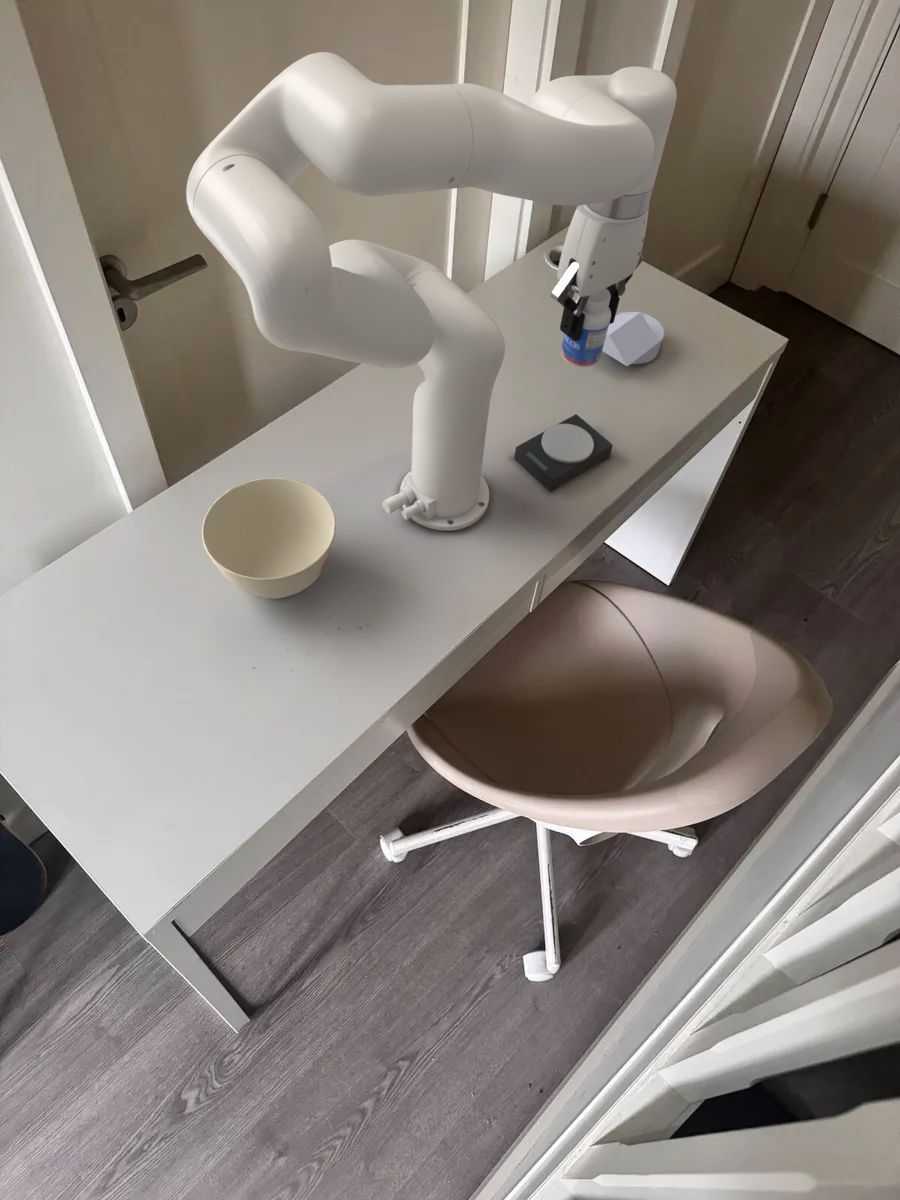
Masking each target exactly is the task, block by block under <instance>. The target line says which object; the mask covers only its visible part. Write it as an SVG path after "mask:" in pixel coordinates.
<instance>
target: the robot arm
mask: <svg viewBox="0 0 900 1200" xmlns="http://www.w3.org/2000/svg"><path fill="white" fill-rule="evenodd" d="M677 96H678V93H677V87H676V84H675V82H674V81H673V79H672V78H671V77H670V76H668V75H667V74H665V73H664V72H663V71H660V70H657V69H655V68H652V67H646V66H628V67H622V68H620V69H618V70H617V71H615V72H614V73H612V74H602V75H600V74H598V75H597V74H596V75H595V74H594V75H566V76H561V77H558V78H554V79H553V80H550V81H548V82H547V83H545V84H543V85H542V86H541V87H540V88H539V89H538V90H537V91H536V92H535V93H534V95H533V96H532V98H531V99H530V101H529V103H528V105H526V104H525V103H522V102H521V101H519V100H516V99H515V98H513V97H511V96H509V95H507V94H505V93H502V92H499V91H497V90H494V89H493V88H489V87H486V86H483V85H480V84H476V83H471V82H470V83H466V82H464V83H463V82H462V83H441V84H380V83H377V82H374V81H372V80H371V79H369V78H368V77H367V76H366V75H365V74H363V73H362V72H361V71H360V70H359V69H357V68H356V67H355V66H353V65H352V64H351V63H349V61H347V60H345V59H344V58H343V57H341V56H339V55H338V54H335V53H333V52H329V51H319V52H315V53H310V54H307V55H305V56H303V57H302V58H299V59H298V60H295V62H293V63H292V64H290V65H289V66H288V67H286V68H285V69H283V70H282V71H281V72H280V73H279V74H278V75H277V76H275V77H274V78H273V79H272V80H271V81H270V82H269V83H268V84H267V85H265V86H264V88H263V89H261V90H260V91H259V92H258V93H257V94H256V95H255V96H254V97H253V98H252V99H251V100H250V102H249V103H247V104H246V106H245V107H243V108H242V110H241V111H240V112H239V113H238V114H237V115H236V116H235V117H234V118H233V119H232V120H231V121H230V122H229V123H228V124H227V125H226V126H225V127H224V128H223V129H222V130H221V131H220V132H219V133H218V134H217V135H216V137H215V138H213V140H211V142H210V143H208V145H207V146H206V147H205V149H203V151H202V152H201V153H200V154H199V156H198V157H197V159H196V160H195V162H194V164H193V165H192V168H191V170H190V171H189V174H188V178H187V182H186V188H185V194H186V195H185V197H186V205H187V208H188V211H189V213H190V216H191V217H192V219H193V221H194V223H195V225H196V226H197V228H198V229H199V230H200V231H201V232H202V234H203V236H205V237H206V239H207V240H208V241H209V242H210V243H211V244H212V245H213V246H214V247H215V249H216V250H217V251H218V252H219V253H220V255H222V257H223V258H224V260H225V261H227V263H228V265H229V266H230V267H231V269H233V271H234V272H235V273H236V274H237V275H238V277H239V278H240V279H241V281H242V283H243V284H244V286H245V287H244V288H245V289H246V291H247V294H248V296H249V300H250V304H251V308H252V313H253V317H254V322H255V324H256V326H257V329H258V330H259V332H260V334H261V335H262V336H263V338H264V339H265V340H267V341H268V342H269V343H271V344H272V345H273V346H275V347H277V348H280V349H283V350H287V351H290V352H291V351H292V352H301V353H308V354H315V355H319V356H320V355H321V356H325V357H329V358H331V359H337V360H342V361H347V362H352V363H357V364H361V365H362V364H363V365H367V366H372V367H377V368H382V369H388V370H389V369H405V368H408V367H412V366H414V365H416V364H417V365H418V366H419V368H420V369H421V371H422V373H423V376H424V380H423V381H422V382H421V383H420V384H419V385H418V387H417V388H416V390H415V392H414V397H413V402H412V435H411V436H412V439H411V441H412V443H411V470H409V471H408V472H407V473H406V474H405V476H404V478H403V479H402V481H401V484H400V486H399V487H400V489H399V492H398V493H397V494H395V495H394V494H393V495H391V496H390V497H387V498H386V499H384V500H382V502H381V504H382V508H383V510H384V511H385V513H387V515H388V514H391V513H393V512H395V511H397V510H399V509H401V507H402V509H401V511H400V513H401V516H402V518H403V519H404V520H405V521H407V520H409V519H411V520H412V521H414V522H415V523H417V524H419V525H421V526H423V527H425V528H427V529H431V530H436V531H443V532H446V531H457V530H462V529H465V528H468V527H470V526H472V525H473V524H476V523H477V522H478V521H479V520H480V519H481V518H482V517H483V516H484V515H485V513H486V511H487V509H488V507H489V502H490V489H489V485H488V482H487V481H486V479H485V478H484V476H483V475H482V469H483V460H484V453H485V447H486V446H485V444H486V436H487V429H488V420H489V413H490V412H489V411H490V404H491V400H492V399H491V398H492V395H493V394H492V393H493V390H494V385H495V383H496V380H497V377H498V375H499V372H500V370H501V368H502V365H503V361H504V358H505V354H506V342H505V339H504V336H503V334H502V330H501V329H500V328H499V326H498V324H497V323H496V322H495V320H494V319H493V318H492V316H491V315H489V313H488V312H487V311H486V310H485V309H484V308H483V307H482V306H481V305H480V304H479V303H477V302H476V300H474V299H473V298H472V297H471V296H470V295H469V294H468V293H466V292H465V291H464V290H462V289H461V287H459V286H458V284H456V283H455V282H454V281H453V280H452V279H451V278H450V277H449V276H447V274H445V273H444V272H443V271H442V270H440V268H438V267H437V266H435V265H434V264H433V263H430V262H429V261H426V260H423V259H421V258H419V257H416V256H413V255H410V254H406V253H404V252H401V251H398V250H396V249H393V248H392V249H391V248H389V247H386V246H384V245H381V244H378V243H375V242H371V241H367V240H363V239H356V238H355V239H344V240H341V241H337V242H335V243H333V244H330V245H329V243H328V239H327V236H326V233H325V231H324V229H323V227H322V225H321V223H320V221H319V219H318V218H317V216H316V215H315V213H314V212H313V211H312V210H311V208H310V207H309V206H308V205H307V204H306V203H305V202H304V201H303V200H302V199H301V198H300V197H299V196H298V195H297V194H296V193H295V191H293V189H292V188H291V187H290V186H291V185H292V184H293V183H294V182H295V181H296V180H297V179H298V178H299V177H300V176H301V175H302V174H303V173H304V172H305V171H306V170H307V168H308V167H309V166H310V165H311V164H313V166H315V167H316V168H317V169H318V170H319V171H320V172H321V173H322V174H323V175H324V176H325V177H326V178H327V179H329V180H330V181H331V182H332V183H333V184H334V185H336V186H337V187H339V189H341V190H343V191H345V192H347V193H349V194H352V195H356V196H358V197H367V198H368V197H370V198H371V197H372V198H373V197H385V196H393V195H404V194H414V193H421V192H422V193H423V192H434V191H441V190H442V191H443V190H452V189H453V190H454V189H463V188H476V189H480V190H483V191H487V192H489V193H493V194H497V195H502V196H505V197H511V198H512V197H513V198H515V199H517V198H518V199H522V200H527V201H532V202H537V203H541V204H542V203H543V204H548V205H554V206H565V207H566V206H567V207H573V206H574V207H576V209H575V211H574V213H573V216H572V218H571V221H570V224H569V226H568V230H567V232H566V235H565V239H564V243H563V246H562V250H561V254H560V258H559V262H558V267H557V272H556V273H557V275H556V279H557V281H558V283H557V284H556V285H555V286H554V288H553V290H552V291H551V293H550V298H552V299H553V300H554V301H556V302H557V303H558V304H560V305H561V306H562V307H563V310H562V314H561V321H560V325H559V330H560V331H561V332H562V333H563V335H564V334H566V335H567V336H568V337H570V338H571V339H572V340H573V341H575V342H576V341H578V340H580V337H581V332H582V328H583V324H584V319H585V314H584V313H582V312H583V310H584V308H585V306H586V303H587V301H588V299H589V297H590V295H591V294H594V293H596V292H598V291H600V290H603V289H605V288H606V289H607V290H608V291H609V292H610V295H611V298H610V302H609V306H608V307H609V308H610V311H611V319H610V323H609V324H612V323H613V322H614V319H615V315H617V313H618V312H617V311H618V307H619V304H620V299H621V296H623V295H624V294H625V292H626V285H627V283H628V282H629V281H630V280H631V278H633V274H634V272H635V271H636V270H637V268H638V267H639V266H640V265H641V264H642V263H643V261H644V255H643V254H642V250H643V247H644V242H645V237H646V232H647V227H648V226H647V225H648V220H649V209H650V202H651V198H652V194H653V190H654V188H655V182H656V179H657V175H658V171H659V167H660V164H661V160H662V157H663V153H664V150H665V145H666V141H667V138H668V134H669V130H670V126H671V124H672V123H671V122H672V119H673V115H674V111H675V109H676V108H675V107H676V103H677V98H678V97H677ZM575 294H578V295H579V296H580V298H579V300H578V302H577V303H576V302H575V301H576V300H574V296H575ZM578 295H577V296H578Z"/></svg>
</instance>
